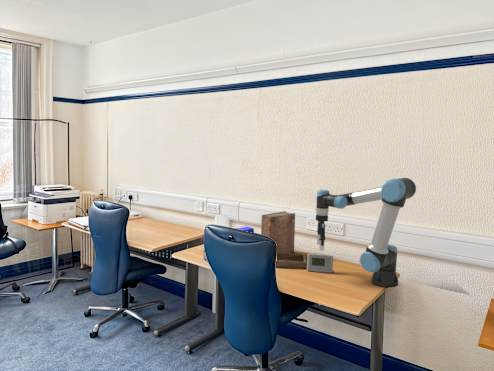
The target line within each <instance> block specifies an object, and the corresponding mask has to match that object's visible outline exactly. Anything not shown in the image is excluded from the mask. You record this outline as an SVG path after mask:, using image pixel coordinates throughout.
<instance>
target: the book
mask: <svg viewBox="0 0 494 371" xmlns="http://www.w3.org/2000/svg"><path fill="white" fill-rule="evenodd" d="M260 226H261V230H260V232H261V233H260V234H261V235H264V236H267V237H270V238H272V239H273V240H274V241H275V242H276V244H277V254H295V237H296V236H295V233H296V232H295V231H296V229H295V228H296V213H295V212H287V211H285V210H284V211H277V212H274V213H268V214H267V213H266V214H262V215H261V225H260ZM261 235H260V236H261Z"/></svg>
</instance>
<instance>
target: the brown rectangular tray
mask: <svg viewBox="0 0 494 371" xmlns="http://www.w3.org/2000/svg"><path fill="white" fill-rule="evenodd" d="M279 267H280V269H281V268H282V269H283V268H284V269H304V270H307V260H306V256H305V254H300V253H299V254H297V253H296V254H295V253H292V254H277V261H276V267H275V268H279Z"/></svg>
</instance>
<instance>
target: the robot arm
mask: <svg viewBox="0 0 494 371" xmlns="http://www.w3.org/2000/svg"><path fill="white" fill-rule="evenodd" d="M416 186H417V185H416V183H415V182H414V181H413V180H412V179H410V178H408V177H400V178H391V179H389V180H386V181H385V182H384V183H383V184H382V186H378V187H373V188H368V189H363V190H359V191H354V192H348V193H343V194H331V193H330V190H328V189H318V190H317V191H316V208H315V209H314V210H315V220H316V222H317V230H316V232H317V237H316V238H317V239H316V244H317V245H319V251H321V252H322V251H323V252H324V251H325V241H326V222H328V220H329V209H330V208H329V207H331V208H336V209H342V210H343V209H345V208H346V207H349V206H354V205H358V204H359V205H360V204H364V203H371V202H376V201H381V203H382V206H381V210H380V213H379V216H378V220H377V223H376V226H375V229H374V232H373V236H372V239H371V241H370V243H368V244H367V245H366V248H365V251H364V252H362V253H360V256H359V264H360V265H361V267H362V268H363V270H364V271H366V272H368V273H371V274H372V275H371V277H370V282H371V283H372V284H373V285H375V286H378V287H383V288H396V287H398V286H399V278H398V275H397V259H398V248H397V246H395V245H392V244H390V243H389V242H390V238H391V236H392V233H393V230H394V228H395V223H396V222H397V219H398V218H397V217H398V215H399V211H400V209H402V208H404V207H405V204H406V202H407V200H408V199H410V198H413V197H414V196H415V194H416V192H417V187H416Z"/></svg>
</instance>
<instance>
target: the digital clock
mask: <svg viewBox="0 0 494 371" xmlns="http://www.w3.org/2000/svg"><path fill="white" fill-rule="evenodd" d="M333 265H334V256H333V255H332V254H321V253H307V260H306V270H307V271H309V272H312V273H313V272H314V273H324V274H327V273H330V274H331V273H333V267H334V266H333Z"/></svg>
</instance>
